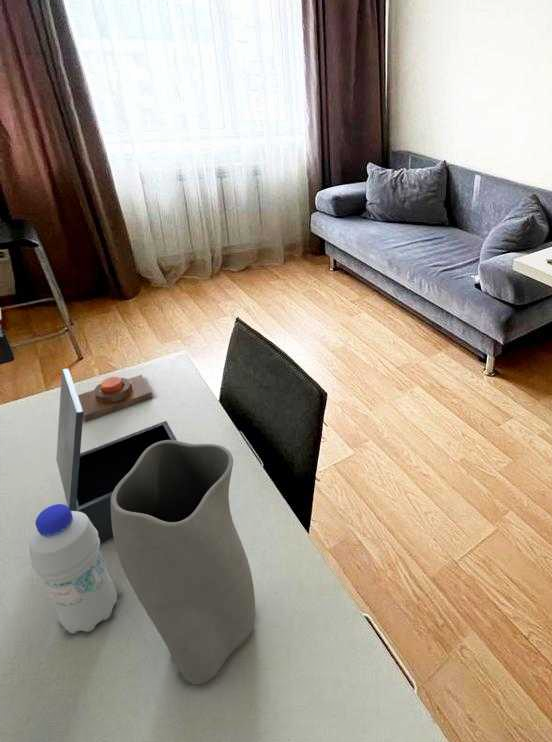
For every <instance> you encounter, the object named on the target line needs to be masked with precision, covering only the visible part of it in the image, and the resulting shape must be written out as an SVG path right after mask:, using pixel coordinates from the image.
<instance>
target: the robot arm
mask: <svg viewBox="0 0 552 742" xmlns="http://www.w3.org/2000/svg"><path fill="white" fill-rule="evenodd" d="M2 318H3V317H2V310H1V308H0V321H1V320H2ZM14 361H15V356H14V351H13V348H12V346H11V343H10V339H9V338H8V336H7V332H6V330H5V329H2V325H1V324H0V365H1V366H2V365H4V364H8V363H12V362H14Z"/></svg>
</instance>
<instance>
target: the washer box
mask: <svg viewBox="0 0 552 742" xmlns="http://www.w3.org/2000/svg"><path fill="white" fill-rule="evenodd" d="M164 440H176V441H178V439H177V437H176V436H175V434H174V432H173V430H172V428H171V426H170V425H169V422H168V421H167V420H164V421H162V422H159V423H156V424H154V425H151V426H149V427H146V428H143V429H141V430H138V431H136V432H135V431H134V432H133V433H130V434H127V435H125V436H122V437H119V438H117V439H115V440H112V441H110V442H107V443H103V444H101V445H99V446H96V447H94V448H91V449H88V450H86V451H84V452H80V462H79V475H78V488H77V501H76V510H72V511H79V512H82V513H84V514H86V515H87V517H88V518H89V520H90V521H91V523H92V524H93V526H94V527H95V529H96V530H97V532H98V537H99V539H100V544H102V543H105V542H106V541H108V540H110V539H114V537H113V530H112V521H111V495H112V493H113V491H114V489H115V487H116V486H117V485H118V483H119V482H120V481H121V480H122V479H123V478H124V477H125V476H126V475H127V474H128V473H129V471H130V470H131V469H132V468H133V466H134V465H135V464H136V462H137V460H138V459H139V457H140V456H141V454H142V453H143V452H144V451H145V450H146V449H147V448H148V447H149V446H151V445H153V444H154V443H157V442H160V441H164Z"/></svg>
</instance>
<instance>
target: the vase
mask: <svg viewBox="0 0 552 742" xmlns="http://www.w3.org/2000/svg"><path fill="white" fill-rule="evenodd" d="M233 467H234V456H233V454H232V453H231V451H230V450H229V449H228V448H226V447H225V446H223V445H220V444H214V443H190V442H184V441H181V440H177V441H176V440H164V441H160V442H157V443H154V444H153V445H151V446H149V447H148V448H147V449H146V450H145V451H144V452H143V453H142V454H141V456H140V457H139V459H138V460H137V462H136V464H135V465H134V466H133V468H132V469H131V470H130V471H129V473H128V474H127V475H126V476H125V477H124V478H123V479H122V480H121V481H120V482H119V483H118V485H117V486H116V487H115V489H114V491H113V493H112V495H111V521H112V530H113V543H114V546H115V551H116V553H117V556H118V560H119V563H120V565H121V567H122V569H123V571H124V574H125V576H126V578H127V580H128V582H129V584H130V586H131V588H132V590H133V593H135V595H136V597H137V599H138V600H139V602H140V604H141V605H142V607H143V609H144V610H145V612H146V614H147V616H148V618H149V619H150V621H151V622H152V623H153V626H154V627H155V629H156V630H157V632H158V634H159V636H160V637H161V639H162V640H163V642H164V644H165V646H166V647H167V649H168V651H169V653H170V654H171V656H172V659H173V660H174V663H175V665H176V666H177V668H178V670H179V673H180V674H181V676H182V677H183V678H184V679H185V680H186V681H187V682H188V683H190V684H192V685H195V686H196V685H203V684H206V683H208V682H210V680H212V679H213V678H214V677H215V676H217V674H218V673H219V672H220V671H221V669H222V667H223V666H224V664H225V662H226V661H227V660H228V658H229V656H230V655H231V654H233V652H234V651H235V650H236V649H238V647H240V646H241V645H242V644H243V643H244V642H245V641H246V640H247V638H248V637H249V635H250V634H251V632H252V630H253V629H254V626H255V623H256V622H255V621H256V616H257V615H256V597H255V586H254V581H253V576H252V575H253V574H252V571H251V567H250V564H249V560H248V557H247V553H246V551H245V549H244V546H243V543H242V540H241V538H240V535H239V533H238V531H237V528H236V525H235V522H234V521H233V516H232V514H231V508H230V498H229V496H230V485H231V484H230V483H231V477H232V472H233Z"/></svg>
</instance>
